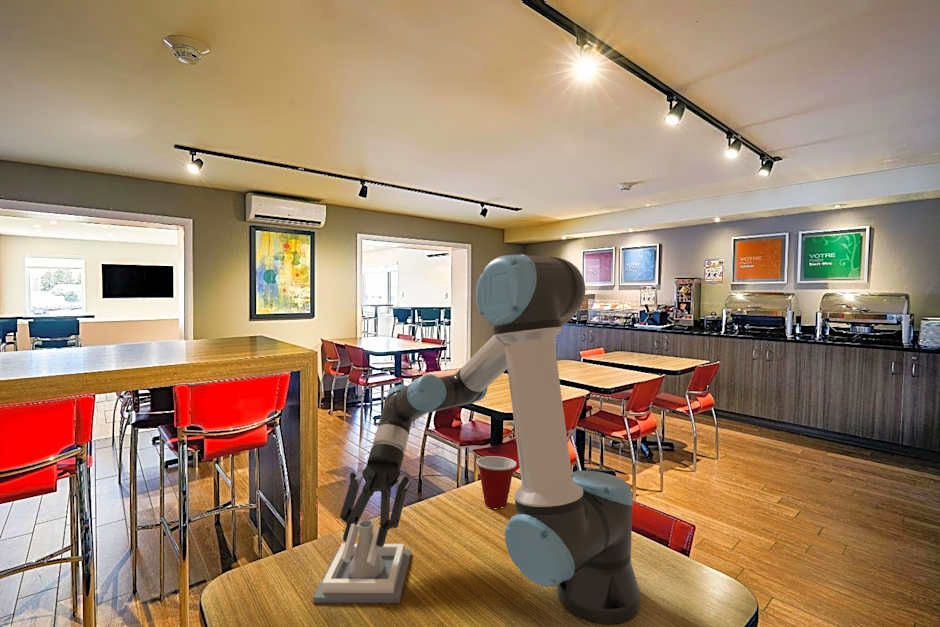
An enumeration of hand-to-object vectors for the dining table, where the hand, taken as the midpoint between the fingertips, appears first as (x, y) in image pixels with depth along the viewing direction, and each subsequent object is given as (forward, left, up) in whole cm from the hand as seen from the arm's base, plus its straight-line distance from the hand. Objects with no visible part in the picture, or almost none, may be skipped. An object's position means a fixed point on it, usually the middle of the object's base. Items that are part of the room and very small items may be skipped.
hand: (357, 561), depth 91 cm
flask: (+2, -3, -4) cm, 6 cm away
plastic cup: (-2, -45, -5) cm, 46 cm away
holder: (+2, -3, -5) cm, 6 cm away
